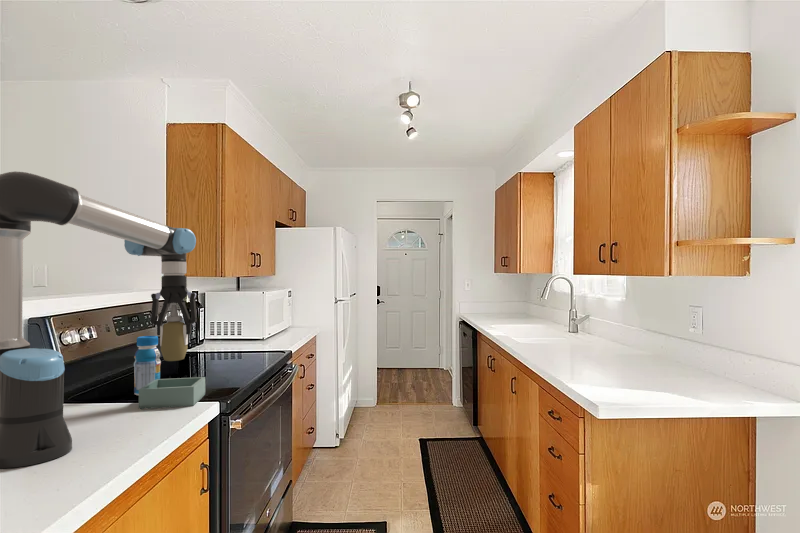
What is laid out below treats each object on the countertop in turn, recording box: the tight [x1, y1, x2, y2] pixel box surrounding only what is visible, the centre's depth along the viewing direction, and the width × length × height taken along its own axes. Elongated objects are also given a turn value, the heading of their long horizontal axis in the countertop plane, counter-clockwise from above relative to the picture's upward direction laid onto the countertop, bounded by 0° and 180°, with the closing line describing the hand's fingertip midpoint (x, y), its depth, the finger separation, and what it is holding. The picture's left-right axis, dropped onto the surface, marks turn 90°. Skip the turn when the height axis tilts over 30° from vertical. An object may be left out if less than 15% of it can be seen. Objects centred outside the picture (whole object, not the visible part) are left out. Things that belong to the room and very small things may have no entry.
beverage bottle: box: [133, 335, 162, 396], centre depth 169 cm, size 8×8×20 cm
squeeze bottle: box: [160, 304, 189, 362], centre depth 157 cm, size 8×8×18 cm
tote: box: [138, 376, 206, 409], centre depth 156 cm, size 16×16×6 cm
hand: (174, 344), depth 157 cm, fingers closed on squeeze bottle, 6 cm apart
